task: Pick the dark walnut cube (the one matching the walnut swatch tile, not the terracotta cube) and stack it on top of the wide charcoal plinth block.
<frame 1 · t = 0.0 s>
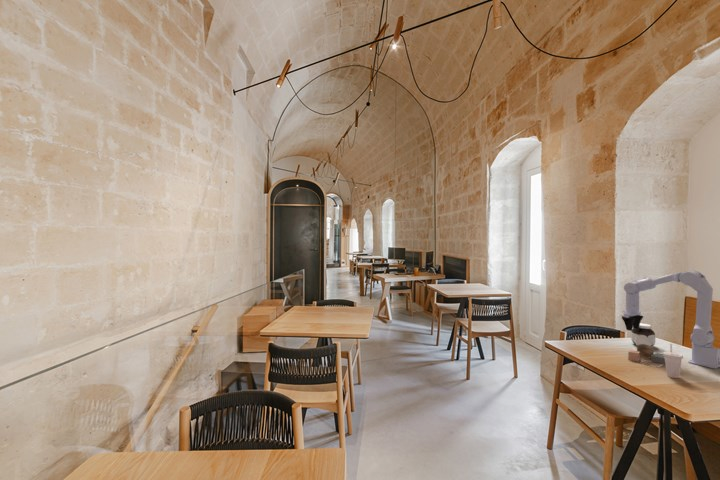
hand: (632, 329, 186), 10 cm above the table, fingers open, 7 cm apart
spread jar: (643, 346, 189), on the table
walnut cube: (645, 355, 174), on the table
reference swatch: (651, 363, 162), on the table
smoothie: (672, 376, 148), on the table
terracotta cube: (634, 359, 168), on the table
plinth: (663, 363, 164), on the table
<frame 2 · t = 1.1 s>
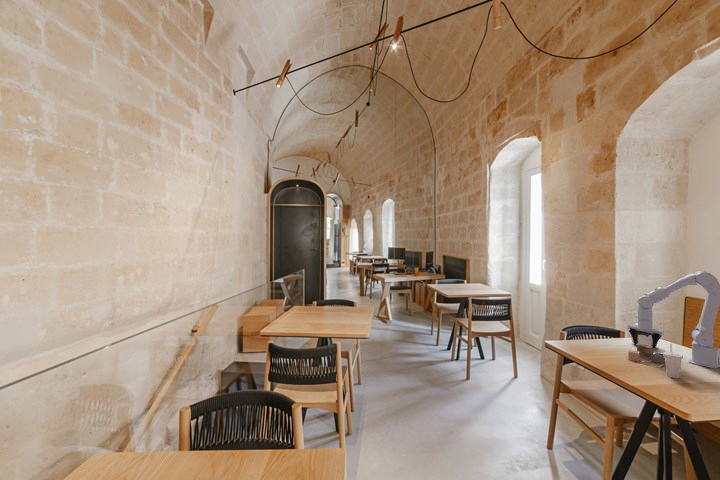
hand: (644, 346, 174), 5 cm above the table, fingers open, 7 cm apart
nothing on the table moved.
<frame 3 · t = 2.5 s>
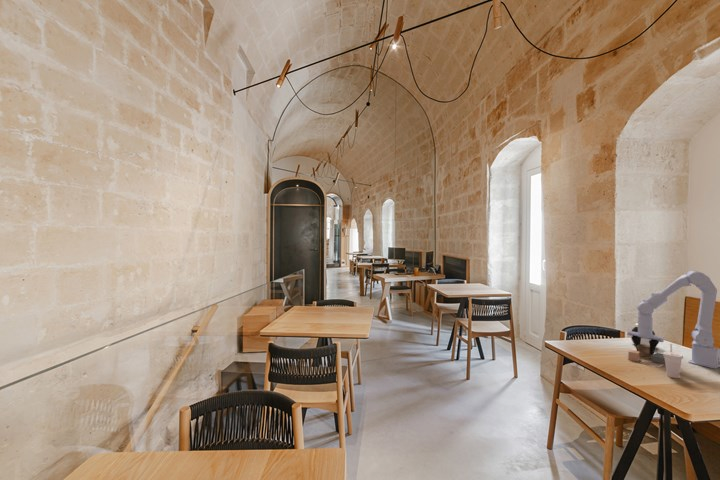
hand: (645, 352, 174), 1 cm above the table, fingers closed on walnut cube, 5 cm apart
walnut cube: (645, 355, 174), on the table, touching gripper
everything else where it was.
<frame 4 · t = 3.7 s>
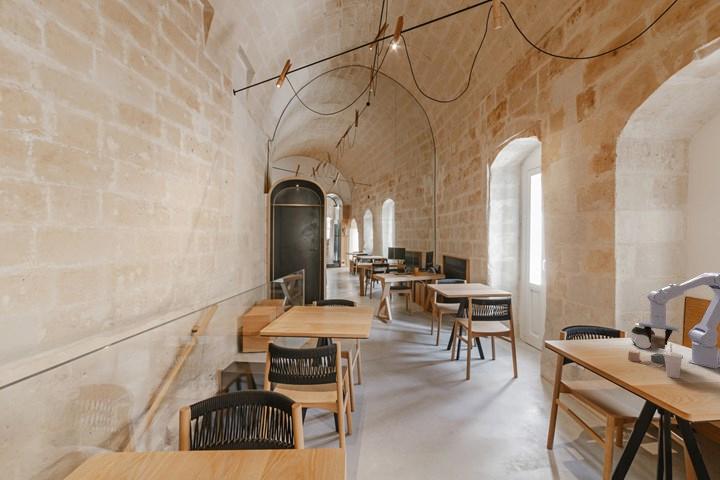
hand: (658, 343, 167), 8 cm above the table, fingers closed on walnut cube, 5 cm apart
walnut cube: (658, 346, 167), point 7 cm above the table, touching gripper
everything else where it was.
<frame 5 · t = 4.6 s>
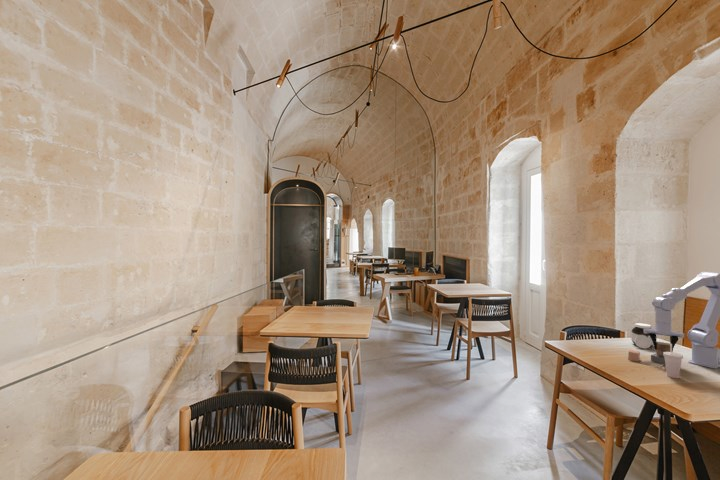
hand: (663, 350, 164), 6 cm above the table, fingers closed on walnut cube, 5 cm apart
walnut cube: (663, 353, 164), point 4 cm above the table, touching gripper
everything else where it was.
when the fingers open (6 cm above the table, at t = 5.2 s): walnut cube drops 1 cm, resting on plinth.
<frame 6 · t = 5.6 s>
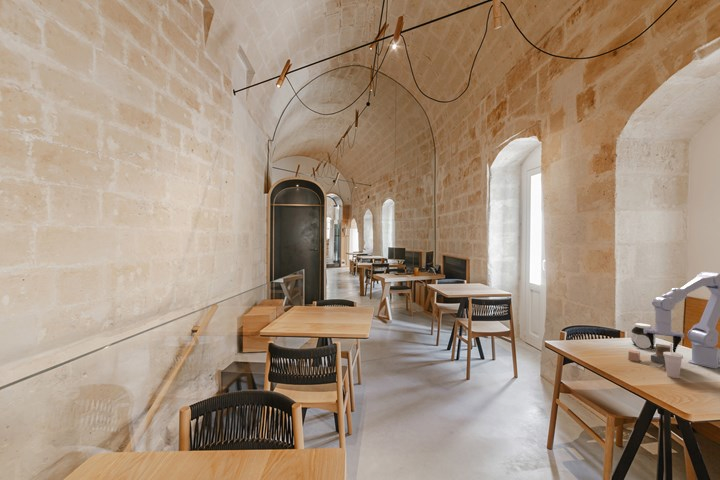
hand: (663, 350, 164), 6 cm above the table, fingers open, 7 cm apart
walnut cube: (663, 356, 164), point 3 cm above the table, touching plinth
plinth: (663, 363, 164), on the table, touching walnut cube
everything else where it was.
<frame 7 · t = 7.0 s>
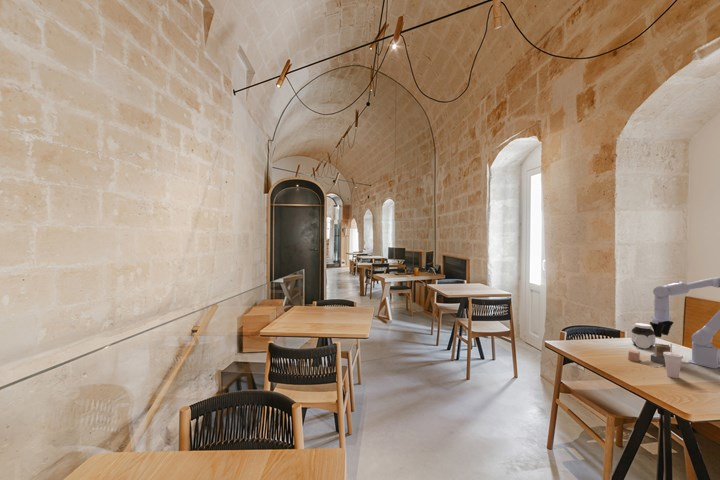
hand: (661, 335, 174), 10 cm above the table, fingers open, 7 cm apart
walnut cube: (662, 355, 164), point 3 cm above the table
plinth: (663, 363, 164), on the table
everything else where it was.
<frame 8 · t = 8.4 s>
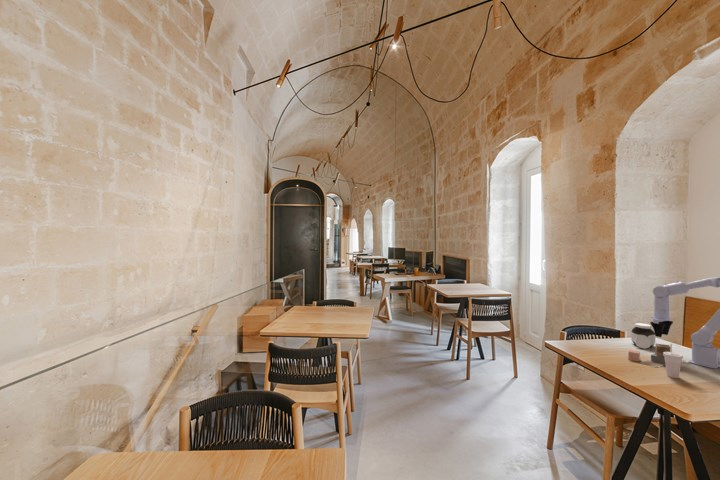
hand: (661, 335, 175), 10 cm above the table, fingers open, 7 cm apart
walnut cube: (663, 356, 164), point 3 cm above the table, touching plinth
plinth: (663, 363, 164), on the table, touching walnut cube
everything else where it was.
at the end: walnut cube 0.2 cm off-centre on the plinth, point 3.5 cm above the plinth's base; walnut cube tilted 0°; terracotta cube moved 0.1 cm from its start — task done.
